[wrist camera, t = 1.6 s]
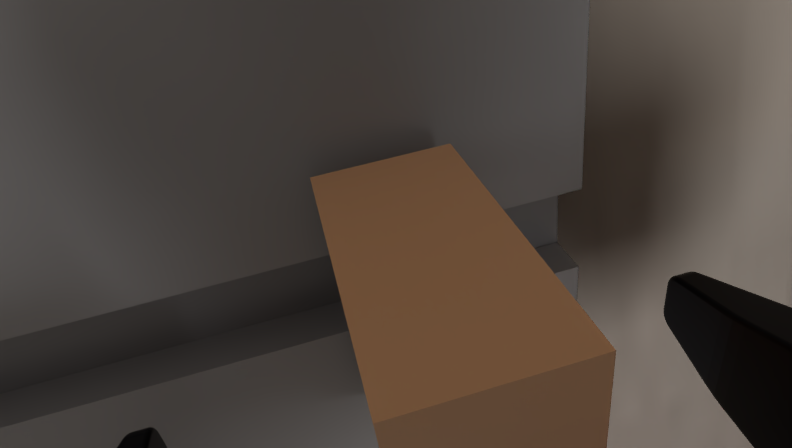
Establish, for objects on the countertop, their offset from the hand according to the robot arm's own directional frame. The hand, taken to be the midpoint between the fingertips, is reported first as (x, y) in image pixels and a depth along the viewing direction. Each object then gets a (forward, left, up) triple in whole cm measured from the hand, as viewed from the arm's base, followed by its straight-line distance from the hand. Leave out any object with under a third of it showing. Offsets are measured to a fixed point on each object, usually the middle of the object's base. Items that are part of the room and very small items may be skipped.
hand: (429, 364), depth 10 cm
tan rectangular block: (0, 0, -3) cm, 3 cm away
